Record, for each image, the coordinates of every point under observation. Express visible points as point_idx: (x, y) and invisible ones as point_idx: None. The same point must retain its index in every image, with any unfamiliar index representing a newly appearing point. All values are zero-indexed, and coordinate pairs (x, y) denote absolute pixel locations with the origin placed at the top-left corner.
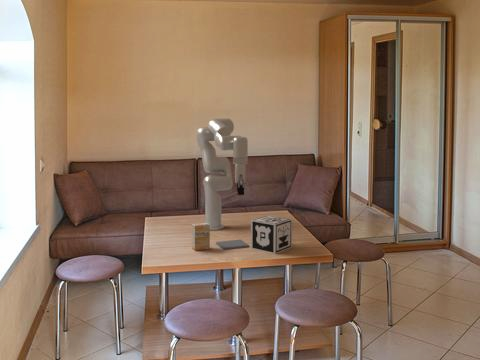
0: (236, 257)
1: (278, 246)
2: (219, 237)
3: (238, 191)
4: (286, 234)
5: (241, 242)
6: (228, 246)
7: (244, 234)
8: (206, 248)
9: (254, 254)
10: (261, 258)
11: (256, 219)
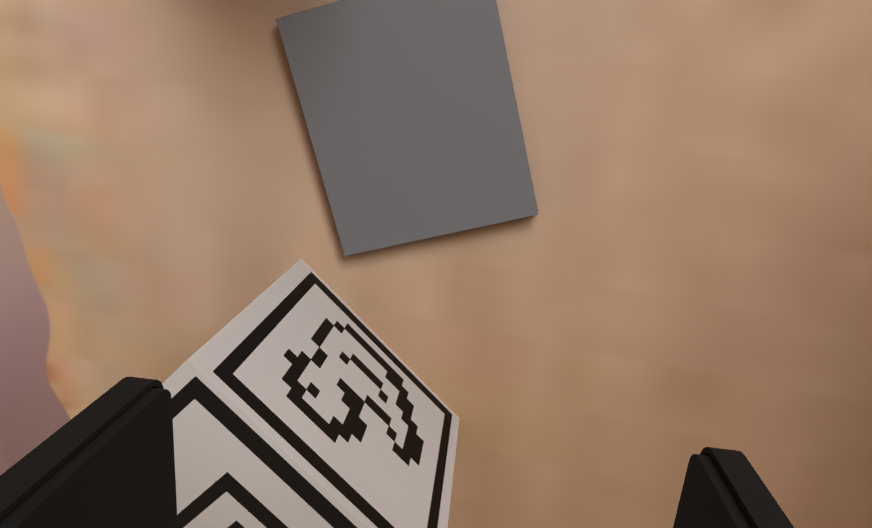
0: (71, 108)
1: None
2: (726, 22)
3: (66, 443)
4: None
5: (434, 207)
6: (318, 71)
7: (770, 283)
8: None
9: (148, 256)
10: (55, 286)
11: (224, 428)
